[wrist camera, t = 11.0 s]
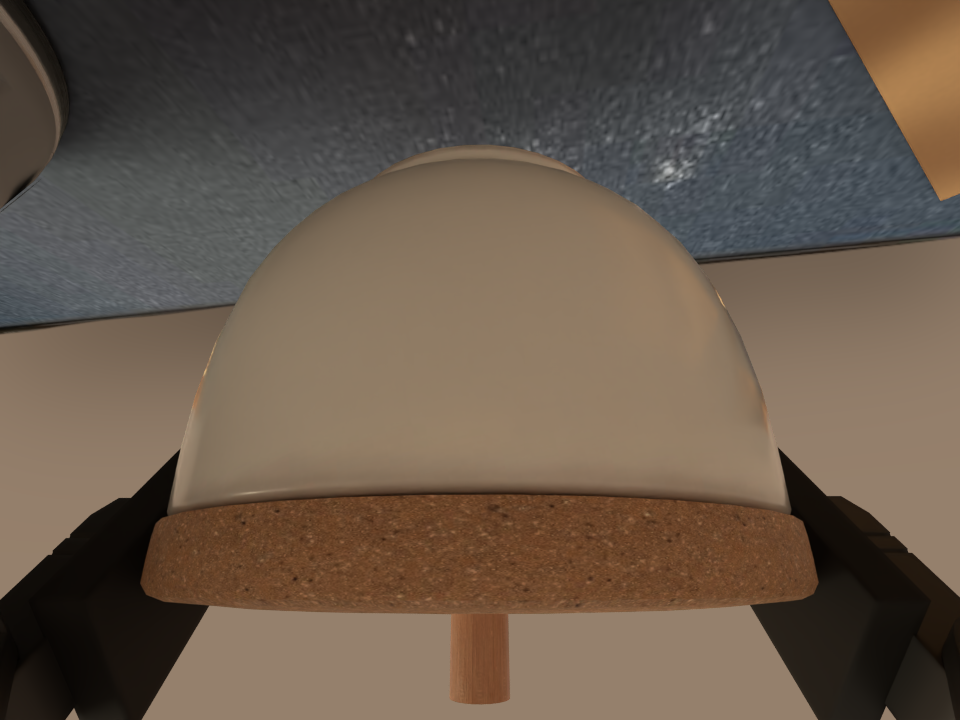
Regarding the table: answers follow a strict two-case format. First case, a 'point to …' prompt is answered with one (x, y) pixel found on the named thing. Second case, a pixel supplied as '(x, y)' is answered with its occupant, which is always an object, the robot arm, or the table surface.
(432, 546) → the trinket box
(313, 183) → the table surface
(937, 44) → the cork mat
